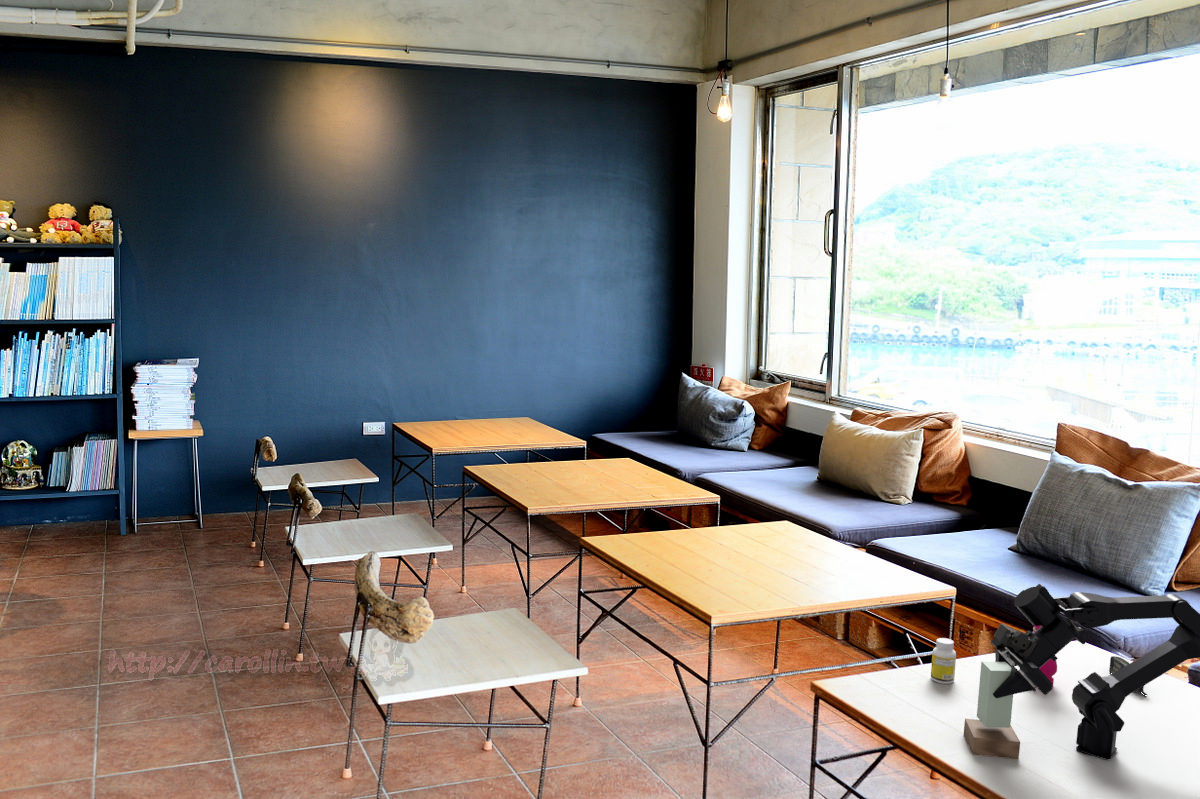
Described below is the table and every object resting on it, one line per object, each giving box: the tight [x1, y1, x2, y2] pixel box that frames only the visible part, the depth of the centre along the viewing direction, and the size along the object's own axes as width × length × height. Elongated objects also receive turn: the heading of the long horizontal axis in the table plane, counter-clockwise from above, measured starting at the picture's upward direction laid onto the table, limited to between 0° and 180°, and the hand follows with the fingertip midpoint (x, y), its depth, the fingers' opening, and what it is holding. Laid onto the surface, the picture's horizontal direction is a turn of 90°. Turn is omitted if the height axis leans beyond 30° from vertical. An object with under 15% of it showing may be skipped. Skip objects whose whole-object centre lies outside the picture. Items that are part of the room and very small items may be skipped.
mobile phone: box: [1108, 655, 1148, 696], centre depth 252 cm, size 5×3×15 cm
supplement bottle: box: [930, 637, 957, 685], centre depth 249 cm, size 5×5×10 cm
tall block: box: [976, 660, 1014, 728], centre depth 213 cm, size 5×5×12 cm
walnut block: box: [963, 718, 1021, 760], centre depth 214 cm, size 9×9×4 cm
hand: (989, 691), depth 213 cm, fingers closed on tall block, 5 cm apart
